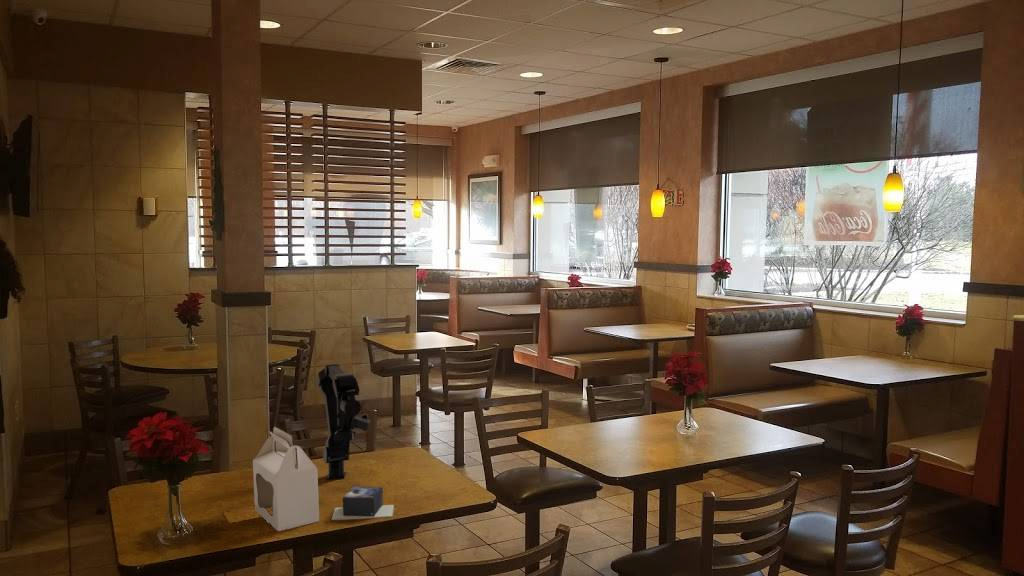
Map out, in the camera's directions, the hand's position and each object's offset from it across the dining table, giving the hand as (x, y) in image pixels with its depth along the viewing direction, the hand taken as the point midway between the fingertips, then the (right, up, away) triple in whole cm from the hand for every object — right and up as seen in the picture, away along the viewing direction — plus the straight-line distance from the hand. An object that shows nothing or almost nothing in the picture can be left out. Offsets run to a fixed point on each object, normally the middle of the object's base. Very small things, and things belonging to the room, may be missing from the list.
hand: (346, 454), depth 268 cm
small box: (+10, -10, -15) cm, 21 cm away
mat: (+10, -14, -22) cm, 28 cm away
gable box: (-14, -15, -24) cm, 32 cm away
